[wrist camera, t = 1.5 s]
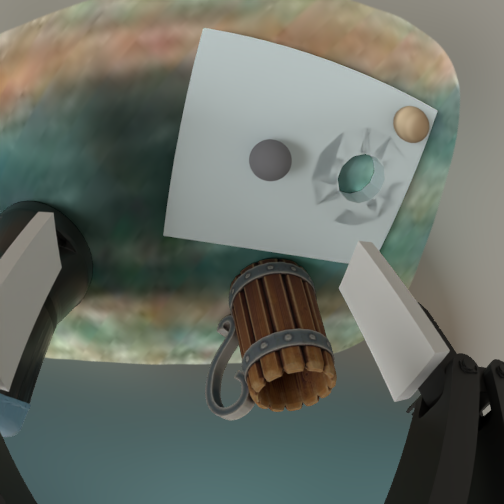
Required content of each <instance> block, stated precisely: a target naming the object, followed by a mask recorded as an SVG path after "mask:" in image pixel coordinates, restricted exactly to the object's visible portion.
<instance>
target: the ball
mask: <svg viewBox="0 0 504 504" xmlns="http://www.w3.org/2000/svg"><path fill="white" fill-rule="evenodd" d="M249 164H250V168H251V170H252V172H253V173H254V174H255V175H256V176H257V177H258V178H260V179H262V180H265V181H276V180H279V179H281V178H283V177H284V176H285V175H286V174H287V173H288V172H289V170H290V168H291V164H292V157H291V153H290V151H289V149H288V148H287V147H286V145H284V144H283V143H282V142H280V141H277V140H273V139H267V140H263V141H261V142H259V143H257V144H256V145H255V146H254V147H253V149H252V150H251V153H250V156H249Z"/></svg>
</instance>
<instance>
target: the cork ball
mask: <svg viewBox="0 0 504 504" xmlns="http://www.w3.org/2000/svg"><path fill="white" fill-rule="evenodd" d="M393 126H394V130H395V132H396V133H397V135H398V136H399V137H400V138H401V139H402V140H404V141H406V142H409V143H417V142H420V141H422V140H423V139H424V138H425V137H426V136H427V134H428V132H429V121H428V118H427V116H426V115H425V113H424V112H423V111H422V110H420V109H419V108H417V107H414V106H405V107H402V108H400V109H399V110H398V111H397V112H396V114H395V116H394V119H393Z"/></svg>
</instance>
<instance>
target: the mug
mask: <svg viewBox="0 0 504 504" xmlns="http://www.w3.org/2000/svg"><path fill="white" fill-rule="evenodd" d="M229 306H230V311H231V315H230V316H226V317H224V318H223V319H222V320H221V321H220V323H219V324H218V327H217V332H219V333H220V334H221V335H223V336H224V337H225V336H226V338H225V340H224V341H223V343H222V344H221V346H220V348H219V349H218V351H217V353H216V354H215V356H214V358H213V360H212V362H211V365H210V367H209V371H208V375H207V380H206V389H205V395H206V402H207V405H208V407H209V408H210V410H211V411H212V412H213V413H214V414H216V415H218V416H220V417H222V418H224V419H227V420H236V419H239V418H241V417H243V416H245V415H246V414H247V413H248V412H249V411H250V410H251V409H252V408H253V406H254V404H255V403H256V404H257V405H258V406H259V407H260V408H262V409H267V408H269V409H271V410H272V411H275V412H280V411H283V410H284V407H286V409H287V410H289V411H294V410H298V409H301V408H302V405H303V403H304V404H305V405H306V406H311V405H313V404H315V403H317V402H318V401H319V396H320V397H321V398H324V397H326V396H328V395H329V394H330V393H331V389H332V388H333V387H334V386H335V384H336V378H337V377H336V371H335V368H334V355H333V351H332V348H331V344H330V342H329V340H328V339H327V337H326V333H325V330H324V326H323V322H322V319H321V315H320V311H319V308H318V304H317V298H316V291H315V288H314V285H313V282H312V280H311V278H310V276H309V274H308V273H307V272H306V270H305V269H304V268H303V267H302V266H298V265H297V263H295V262H293V261H290V260H286V259H276V258H275V259H266V260H262V261H259V262H257V263H253V264H251V265H249V266H248V267H246V268H245V269H243V270H242V271H241V272H240V274H239V275H237V276H236V277H235V279H234V280H233V282H232V284H231V287H230V293H229ZM238 344H239V347H240V352H241V356H242V368H243V372H242V371H239V370H238V371H237V373H236V375H235V377H234V378H235V379H237V380H238V381H240V382H241V386H242V391H241V395H240V397H239V399H238V400H237V401H236V402H235V403H234V404H233V405H231V406H229V407H226V408H224V407H223V404H222V402H221V398H220V390H221V380H222V376H223V372H224V370H225V367H226V365H227V363H228V361H229V359H230V358H231V356H232V354H233V353H234V351H235V349H236V348H237V346H238Z"/></svg>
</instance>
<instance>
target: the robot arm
mask: <svg viewBox="0 0 504 504" xmlns="http://www.w3.org/2000/svg"><path fill="white" fill-rule="evenodd" d="M92 274H93V263H92V257H91V253H90V250H89V248H88V245H87V243H86V241H85V239H84V237H83V236H82V234H81V233H80V231H79V230H78V229H77V228H76V226H75V225H74V224H73V223H72V222H71V221H70V220H69V219H68V218H67V217H66V216H64V215H63V214H62V213H60V212H59V211H57V210H56V209H54V208H52V207H50V206H48V205H46V204H43V203H39V202H33V201H23V202H18V203H15V204H13V205H11V206H10V207H8V208H7V209H6V210H5V211H4V212H3V213H2V214H1V215H0V504H37V503H36V501H35V499H34V498H33V496H32V494H31V492H30V491H29V489H28V487H27V485H26V484H25V482H24V480H23V478H22V476H21V475H20V473H19V471H18V469H17V467H16V465H15V463H14V461H13V459H12V457H11V455H10V453H9V450H8V448H7V446H6V444H5V442H4V439H3V437H10V436H14V435H16V434H17V433H19V431H20V430H21V428H22V425H23V422H24V420H25V417H26V415H27V412H28V410H29V409H30V407H31V405H30V401H31V397H32V394H33V390H34V387H35V384H36V380H37V377H38V375H39V372H40V369H41V366H42V363H43V360H44V357H45V355H46V352H47V349H48V346H49V344H50V341H51V339H52V336H53V333H54V331H55V328H56V326H57V324H58V323H59V322H60V321H61V320H62V319H63V318H64V317H66V316H67V314H68V313H69V312H70V311H71V310H72V309H73V308H74V307H76V306H77V305H78V304H79V303H80V302H81V301H82V299H83V298H84V296H85V294H86V292H87V289H88V287H89V285H90V282H91V279H92ZM339 290H340V292H341V294H342V296H343V297H344V299H345V301H346V303H347V305H348V307H349V309H350V311H351V313H352V315H353V317H354V319H355V321H356V323H357V325H358V327H359V329H360V331H361V333H362V335H363V337H364V339H365V341H366V343H367V345H368V347H369V349H370V351H371V353H372V355H373V357H374V359H375V361H376V363H377V365H378V367H379V369H380V372H381V374H382V376H383V378H384V380H385V382H386V384H387V387H388V389H389V391H390V393H391V395H392V397H393V400H394V401H395V402H396V401H400V400H404V399H408V398H410V397H411V396H412V395H413V394H414V393H415V392H416V391H417V389H419V391H420V393H421V395H420V396H419V398H418V399H417V400H416V401H415V402H414V403H413V404H412V405H411V406H410V407H409V408H408V410H407V411H406V412H407V413H409V412H410V411H411V410H412V409H413V408H415V410H414V412H413V413H412V415H413V418H412V422H411V425H410V429H409V432H408V436H407V440H406V443H405V446H404V450H403V453H402V456H401V459H400V462H399V465H398V468H397V471H396V474H395V477H394V479H393V482H392V485H391V488H390V490H389V493H388V495H387V498H386V500H385V503H384V504H504V362H502V361H500V360H496V359H495V360H493V361H492V362H491V363H490V364H489V365H488V367H487V368H484V367H478V366H477V364H476V363H475V361H474V360H473V359H472V358H471V357H469V356H468V355H465V354H456V352H455V351H454V349H453V347H452V346H451V344H450V343H449V341H448V340H447V338H446V337H445V335H444V334H443V332H442V331H441V329H439V326H438V325H437V323H436V322H435V321H434V319H433V318H432V316H431V315H430V313H429V312H428V310H426V309H425V308H424V307H423V306H422V305H421V304H420V303H418V302H417V301H416V300H415V298H414V297H413V296H412V294H411V293H410V291H409V290H408V289H407V287H406V286H405V285H404V283H403V282H402V280H401V279H400V278H399V276H398V275H397V274H396V272H395V271H394V270H393V268H392V267H391V266H390V265H389V263H388V262H387V261H386V259H385V258H384V257H383V256H382V254H381V253H380V252H379V250H378V249H377V248H376V247H375V245H374V244H373V243H372V242H366V241H358V243H357V245H356V248H355V250H354V253H353V255H352V258H351V260H350V263H349V265H348V268H347V270H346V272H345V275H344V277H343V279H342V282H341V284H340V286H339ZM489 404H490V406H491V411H490V412H489V413H487V414H486V415H485V416H483V413H482V411H483V410H484V409H485V408H486V407H487V406H488V405H489Z"/></svg>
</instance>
